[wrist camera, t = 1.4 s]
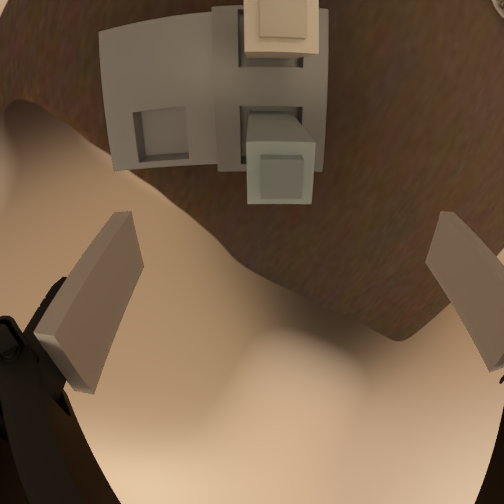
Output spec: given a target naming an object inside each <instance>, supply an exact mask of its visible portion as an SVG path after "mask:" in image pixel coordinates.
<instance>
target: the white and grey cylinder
mask: <svg viewBox="0 0 504 504" xmlns="http://www.w3.org/2000/svg"><path fill="white" fill-rule="evenodd" d="M491 1H492V3H493V5H494V7H495V9H496V10H497V11H498V13H499V14H500V15H501V17H502V18H504V0H491Z"/></svg>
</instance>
